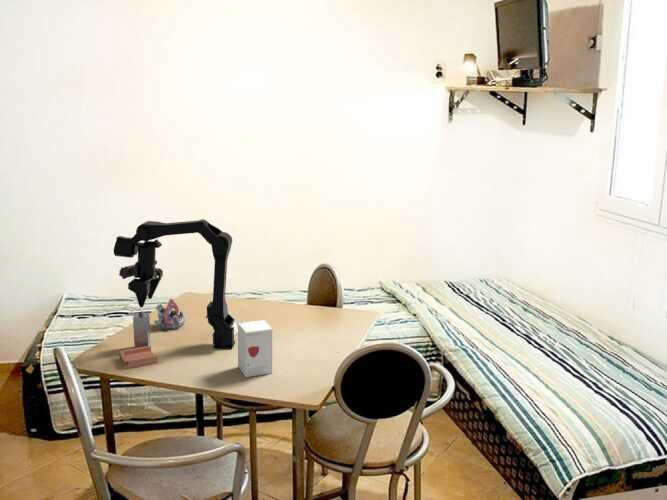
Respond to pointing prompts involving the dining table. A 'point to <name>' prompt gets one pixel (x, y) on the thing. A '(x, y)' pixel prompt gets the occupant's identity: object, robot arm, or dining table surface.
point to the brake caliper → (169, 316)
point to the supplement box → (255, 348)
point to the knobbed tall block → (141, 330)
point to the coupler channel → (137, 357)
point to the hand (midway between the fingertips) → (145, 302)
